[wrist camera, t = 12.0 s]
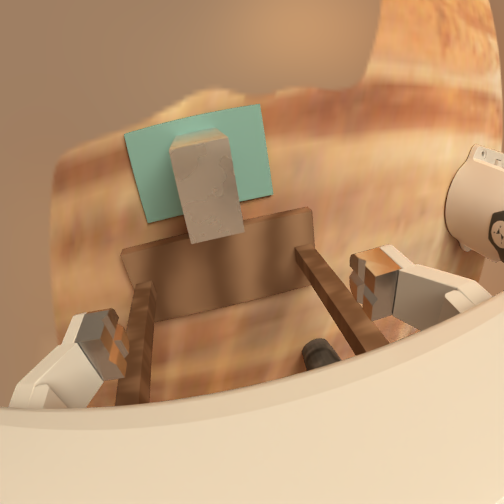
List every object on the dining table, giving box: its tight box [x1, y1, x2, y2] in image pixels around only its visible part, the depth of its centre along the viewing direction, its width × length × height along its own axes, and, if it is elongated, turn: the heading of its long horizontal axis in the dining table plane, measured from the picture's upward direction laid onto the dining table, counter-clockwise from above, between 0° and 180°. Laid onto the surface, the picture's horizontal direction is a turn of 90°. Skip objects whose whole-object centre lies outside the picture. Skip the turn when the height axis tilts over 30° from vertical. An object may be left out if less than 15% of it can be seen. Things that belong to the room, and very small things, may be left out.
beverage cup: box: [302, 338, 342, 371], centre depth 38 cm, size 7×7×20 cm
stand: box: [115, 207, 389, 406], centre depth 27 cm, size 22×10×22 cm, turn 98°
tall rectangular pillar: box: [169, 127, 245, 244], centre depth 26 cm, size 4×7×11 cm, turn 8°
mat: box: [124, 104, 273, 223], centre depth 31 cm, size 14×10×1 cm
